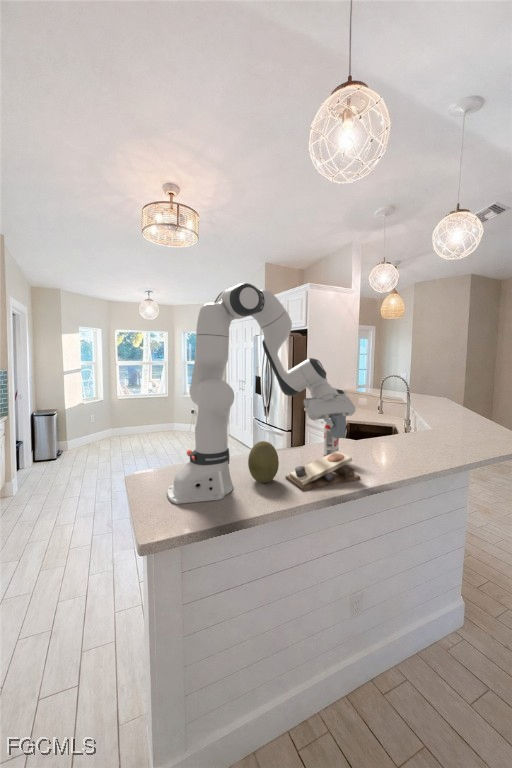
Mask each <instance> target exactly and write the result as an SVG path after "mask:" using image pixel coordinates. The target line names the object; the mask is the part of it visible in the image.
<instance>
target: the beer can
mask: <svg viewBox="0 0 512 768" xmlns="http://www.w3.org/2000/svg"><path fill="white" fill-rule="evenodd" d="M339 440H340V438H338V439H336V438H334V437H331V436H330V426H329V424H328V423H326V422H325V424H324V428H323V457H325V456H327V455H329V454H331V453H333V452H335V451H338V452H340V451H339V447H340V446H339V444H340V443H339Z"/></svg>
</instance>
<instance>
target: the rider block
mask: <svg viewBox="0 0 512 768" xmlns="http://www.w3.org/2000/svg"><path fill="white" fill-rule="evenodd" d="M330 420H331V421H334V422H335V426H334V427H330V436H331V437H334V438H336V439H338V438H339V439H344V438H345V439H346V438H347V437H346V435H347V434H346V432H347V428H346V427H347V425H346V421H347V416H342V415H331V418H330Z"/></svg>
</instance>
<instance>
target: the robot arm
mask: <svg viewBox="0 0 512 768" xmlns="http://www.w3.org/2000/svg"><path fill="white" fill-rule="evenodd" d="M250 316H251V317H253V319H254V320H255V321H256V322H257V324H258V325H259V327H260V329H261V330H262V333H263V340H262V347H263V351H264V353H265V355H266V358H267V360H268V362H269V364H270V366H271V369H272V371H273V373H274V375H275V377H276V381H277V383H278V386H279V388H280V390H281V392H282V393H283V394H284V395H285V396H288V397H295V396H297V395H298V394H299V393H301V392H302V391H305V389H308V390H309V392H310V395H311V397H306V398H304V399H303V401H302V403H303V405H304V407H305V411H306V414H307V416H308V419H309V420H311V421H314V420H315V421H316V420H323V422H325V424H326V423H328V424H329V426H330V427H334V426H335V422H334V421H331V415H342V416H346V417H351V416H353V415H354V414H355V413H356V407H355V405H354V404H353V402H352V400H351V398H350V397H349V396H347V391H346V390H343V389H339V388H335V387H333V386H332V384H330V383H329V382H328V378H327V371H326V370H325V368H324V366H323V365H322V363H321V361H320V360H319V359H317V358H314V357H308V358H307V359H305V360H303V361H302V362H300V363H299V364H297V365H295V366H294V367H292V368H290V369H288V370H285V369H284V366H283V364H282V362H281V360H280V357H279V355H278V353H279V350H280V348H281V347H282V345H283V344H284V343H285V342H286V340H287V339H288V338H289V336H290V334H291V332H292V328H293V327H292V326H293V321H292V320H291V317H290V315H289V313H288V312H287V309H286V308H285V307H284V305H283V304H282V303H281V302H280V300H279V299H278V298H277V296H275V294H274V293H273V292H272V291H270V290H269V289H267V288H263V289H258V288H257V287H256V286H255V285H253V284H251V283H247V282H242V283H238V284H236V285H234V286H233V285H232V286H230V287H228V288H227V289H225V290H224V291H222V292H220V293H219V294H218V296H217V297H216V299H215V301H213V302H208V303H205V304H203V305H201V307H200V309H199V312H198V317H197V323H196V329H195V348H194V349H195V356H194V364H193V368H192V374H191V380H190V381H191V382H190V386H189V395H190V399H191V400H192V402H193V403H194V404H195V405H196V406H197V416H196V417H197V418H196V424H195V427H194V440H195V443H194V444H195V445H194V446H195V449H194V450H193V451H192V449H187V450H186V455H187V456H188V457H189V462H188V463H186V464H185V465H184V466H183V467H182V468H181V469H179V470H178V471H177V472H176V473H175V476H174V480H173V484H171V485H169V486H168V488H167V490H166V496H167V499H168V500H169V501H170V502H171V503H174V504H176V505H180V504H189V503H190V504H191V503H198V502H210V501H219V500H223V499H224V498H225V497H226V495H228V494H229V493H231V492H232V491H233V489H234V485H233V481H232V478H231V473H230V449H229V446H228V445H229V443H228V441H229V440H228V439H229V438H228V425H229V418H230V412H231V408H232V406H233V404H234V402H235V393H234V392H235V391H234V389H233V388H232V387H231V385H230V384H229V383H228V382H227V381H225V380H223V378H224V377H223V376H224V374H225V373H224V372H225V369H226V365H227V364H228V361H229V348H230V347H229V346H230V345H229V344H230V326H231V322H232V321H233V320H234V321H235V320H240V319H244V318H245V319H246V318H247V317H250ZM347 425H348V422H347V420H346V426H347Z"/></svg>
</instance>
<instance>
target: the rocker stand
mask: <svg viewBox="0 0 512 768" xmlns="http://www.w3.org/2000/svg"><path fill="white" fill-rule="evenodd" d="M285 479H286V480H287V481H288V482H289V483H290V484H292V485H293V486H294V487H296V488H298V489H299V490H300V491H302V492H303V491H309V490H314V489H317V488H322V487H327V486H333V485H338V484H342V483H347V482H352V480H353V481H357V480H361V476H360V475H358V474H357V473H355V468H354V467H352V466H349V465H348V464H346V465H344V466H342V467H340V468H338V469H336V470H334V471H332V472H330V473H328V474H325V475H323V476H321V477H319V478H317V479H315V480H313V481H311V482H309V483H307V484H305V485H301V484H300V483H299V482H297V481H296V480H294V479H293V478H292V477H290V474H289V475H285Z"/></svg>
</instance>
